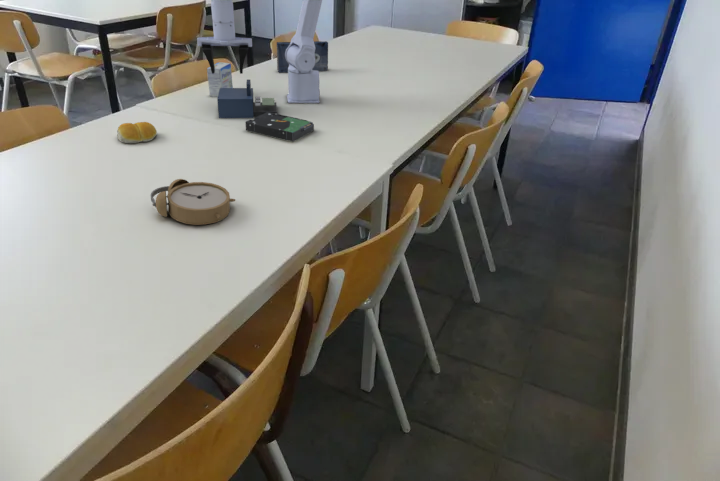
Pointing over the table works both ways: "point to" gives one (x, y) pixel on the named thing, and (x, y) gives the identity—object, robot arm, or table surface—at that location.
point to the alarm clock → (193, 202)
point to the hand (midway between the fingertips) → (227, 72)
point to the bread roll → (136, 132)
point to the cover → (236, 102)
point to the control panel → (263, 109)
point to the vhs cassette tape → (320, 56)
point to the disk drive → (280, 126)
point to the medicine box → (219, 78)
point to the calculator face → (264, 101)
